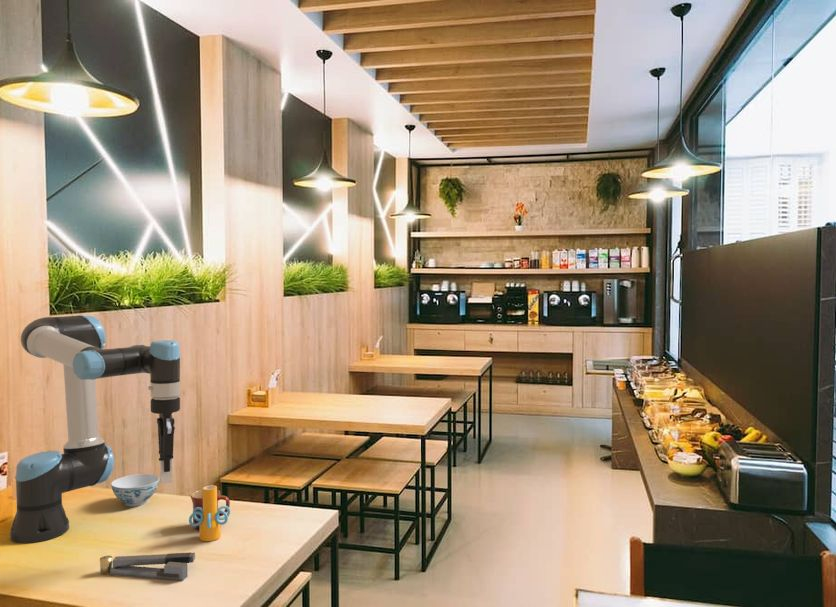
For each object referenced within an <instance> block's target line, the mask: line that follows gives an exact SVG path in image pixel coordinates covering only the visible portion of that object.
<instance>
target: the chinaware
mask: <svg viewBox="0 0 836 607" xmlns="http://www.w3.org/2000/svg"><path fill="white" fill-rule="evenodd" d="M159 483H160V476H158V475H155V474H149V473H148V474H147V473H140V474H131V475H130V474H129V475H126V476H123V477H119V478H116V479H113V481H112V482H111V484H110V486H111V489H112V492H113V495H114V496H115V497H116V499H118V500H120V501H121V502H122V503H124V505H125V506H126V507H133V506H134V507H139V506H143V505H145V504H147V502H148V501H147V500H149V499H150V498H151V497H153V495H154V494H155V493H156V491H157V489H158V486H159ZM134 507H133V508H134Z"/></svg>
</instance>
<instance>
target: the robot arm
mask: <svg viewBox="0 0 836 607" xmlns="http://www.w3.org/2000/svg"><path fill="white" fill-rule="evenodd" d="M106 338H107V336H106V331H105V328H104V326H103V324H102V322H100V319H99V318H97V317H96V316H93V315H70V316H69V315H65V316H64V315H63V316H46V317H40V318H37V319H35V320H33V321H31V322H30V323H28V324H27V325H26V326H25V327H24V328H23V330H22V332H21V335H20V344H21V346H22V348H23V350H24V351H25V352H27V353H28V354H30V355H31V356H34V357H35V358H40V359H41V358H45V359H47V358H48V359H50V360H53V361H55V362H57V363H60V364H62V365H63V376H64V380H63V381H64V391H65V392H64V393H65V408H66V409H65V411H66V422H67V425H66V426H67V438H68V440H67V442H66V443H65V444H64V445H63V446H62V447H63V453H61V451H58V450H48V451H39V452H36V453H33V454H30V455H28V456H26V457H24V458H22V459H21V460H19V462H17V464H16V467H15V468H16V469H15V470H16V471H15V472H16V473H15V477H14V478H15V487H16V490H15V491H16V494H15V495H16V496H15V497H16V512H15V516H14V518H13V520H12V525H11V527H10V530H9V536H10V537H9V538H10V540H11V541H12V542H15V543H21V544H22V543H23V544H28V543H29V544H30V543H37V542H43V541H47V540H52V539H55V538H58V537H60V536H62V535H64V534H65V533H67V532H68V531H69V529H70V520H69V518H68V517H67V513H66V511H65V508H64V505H63V500H62V499H63V494H64V493H67V492H72V491H74V490H78V489H83V488H86V487H94V486H96V485H97V484H101V483H104V482H106V481H107V480H108V479H109V478H110V476H111V475H112V472H113V469H114V465H115V457H114V452H112V451H113V450H112V448H111V447H110V446H109V445H108V444H106V443H105V440H104V439H103V438H102V437H100V435H99V432H100V430H99V419H98V418H99V416H98V404H97V403H98V402H97V388H96V387H97V386H96V380H98V379H103V378H104V379H105V378H112V377H119V376H128V375H137V374H149V377H150V382H149V383H150V386H148V387H147V389H148V390H149V391H150V397H151V399H150V412H151V413H153V414H157V415H158V416H159V417H157V418H156V424H157V437H158V455H159V458H158V461H160V462H159V465H160V468H159V469H160V471H159V472H160V476H159V483H160V484H161V485H163V484H169V483H172V482H173V480H172V479H173V475H172V473H173V472H172V471H173V470H172V467H173V466H172V463H173V462H172V461H173V460H172V459H174V444H175V443H174V442H175V429H176V427H175V418H173V413H177V412H179V411H180V410H181V398H180V397H179V396H180V395H181V352H180V344H179V342H178V341H177V340H155V341H154V340H153V341H151V342H150V345H149V346H148V345H145V344H136V345H135V344H133V345H130V346H128V347H119V348H118V347H116V348H105V346H106V342H107V339H106Z"/></svg>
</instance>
